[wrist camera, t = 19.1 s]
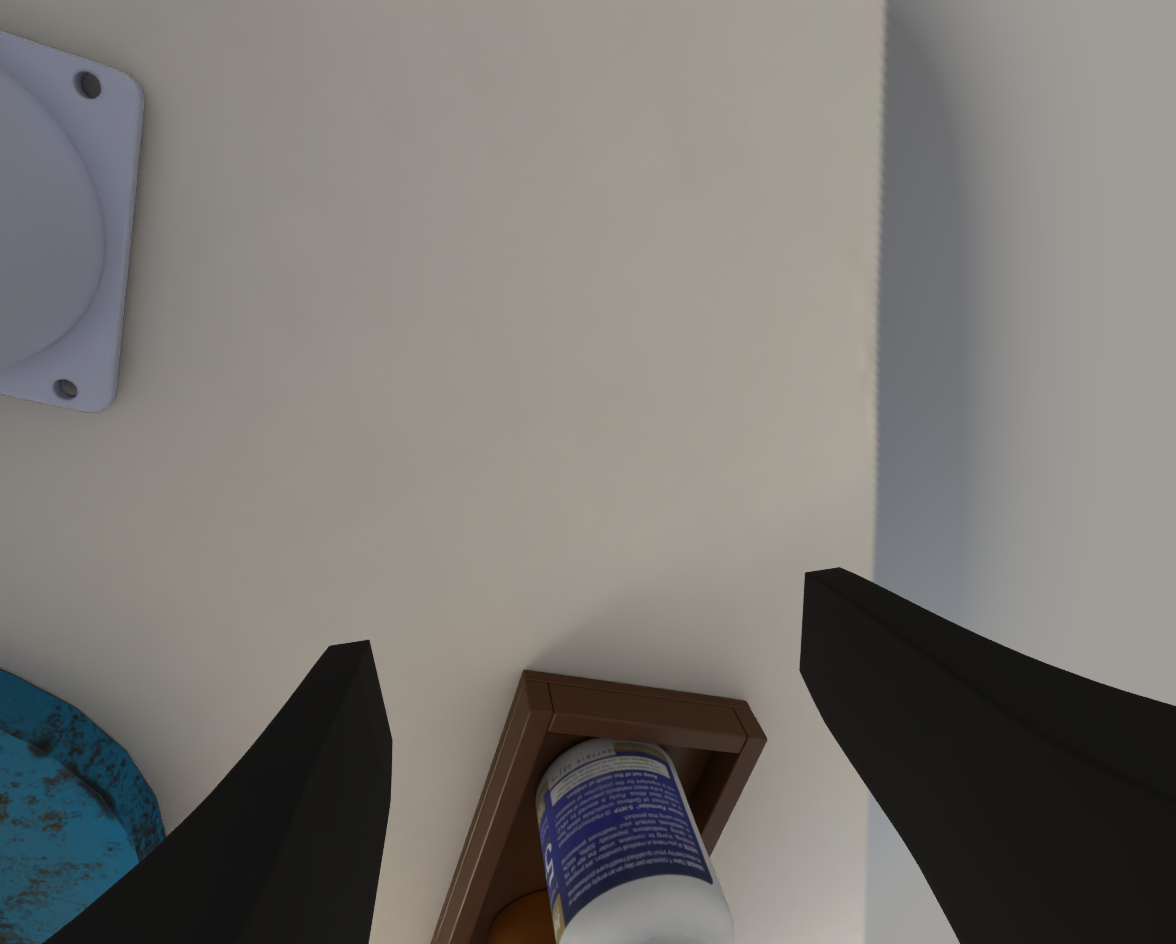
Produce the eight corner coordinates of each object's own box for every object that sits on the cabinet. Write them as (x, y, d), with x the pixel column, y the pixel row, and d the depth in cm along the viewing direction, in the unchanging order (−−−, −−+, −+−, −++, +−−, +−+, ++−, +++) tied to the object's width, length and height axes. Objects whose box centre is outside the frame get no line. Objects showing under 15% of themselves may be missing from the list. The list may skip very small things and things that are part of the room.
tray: (377, 1099, 32) (373, 1155, 31) (523, 669, 25) (529, 710, 23) (561, 1093, 35) (568, 1144, 33) (746, 700, 27) (768, 739, 25)
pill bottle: (505, 779, 26) (536, 1062, 18) (634, 704, 26) (724, 958, 18) (579, 860, 28) (636, 1142, 20) (697, 792, 28) (803, 1050, 20)
